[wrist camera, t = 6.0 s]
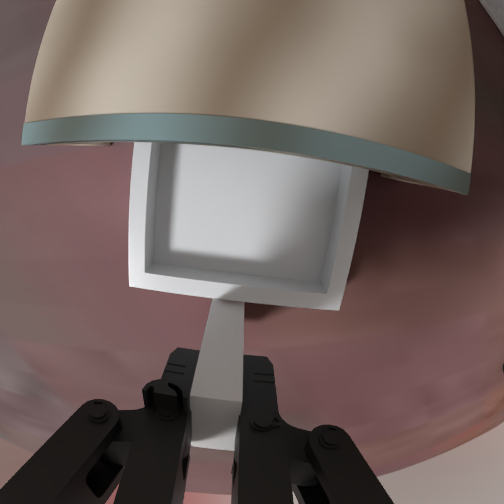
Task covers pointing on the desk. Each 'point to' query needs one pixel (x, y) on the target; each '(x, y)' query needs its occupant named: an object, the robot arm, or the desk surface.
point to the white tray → (242, 224)
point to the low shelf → (265, 80)
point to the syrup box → (495, 12)
